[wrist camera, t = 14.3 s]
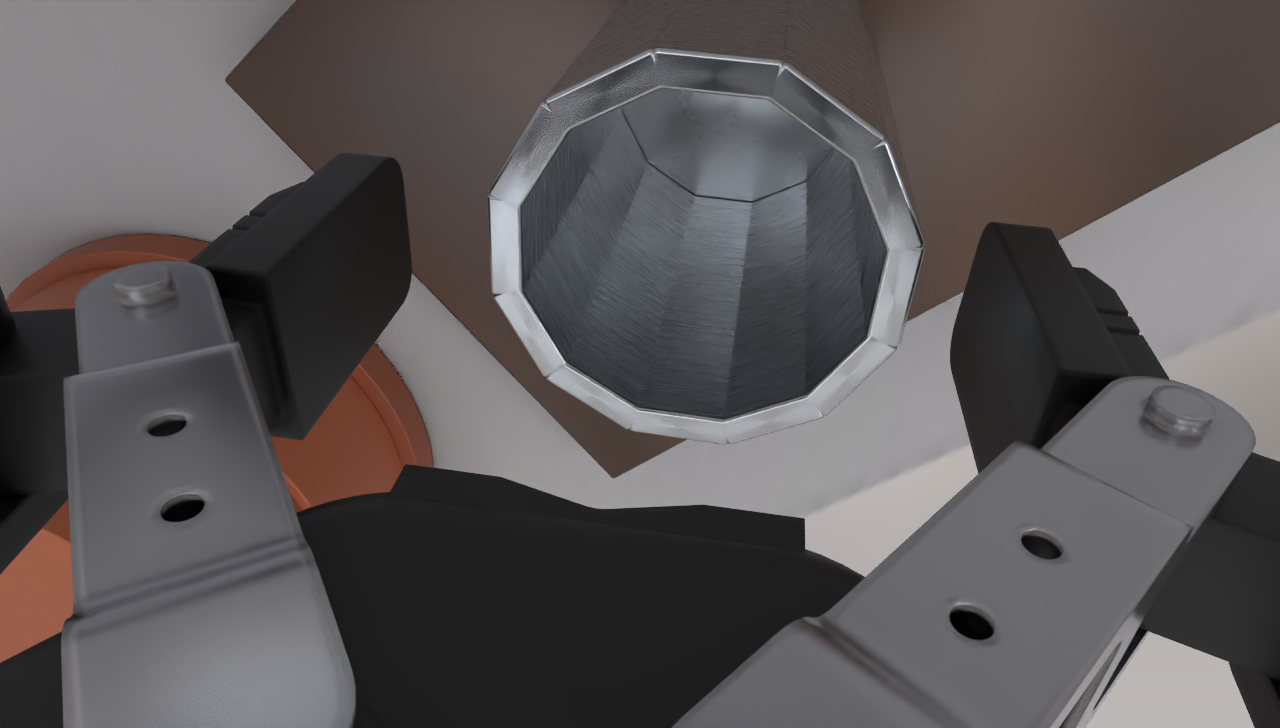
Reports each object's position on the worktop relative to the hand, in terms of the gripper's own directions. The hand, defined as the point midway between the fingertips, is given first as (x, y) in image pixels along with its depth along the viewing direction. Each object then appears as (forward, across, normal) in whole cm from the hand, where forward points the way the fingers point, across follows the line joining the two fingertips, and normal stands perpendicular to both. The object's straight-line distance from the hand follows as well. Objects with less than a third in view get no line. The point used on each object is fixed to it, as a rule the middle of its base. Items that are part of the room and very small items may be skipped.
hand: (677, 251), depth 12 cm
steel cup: (+9, 0, 0) cm, 9 cm away
